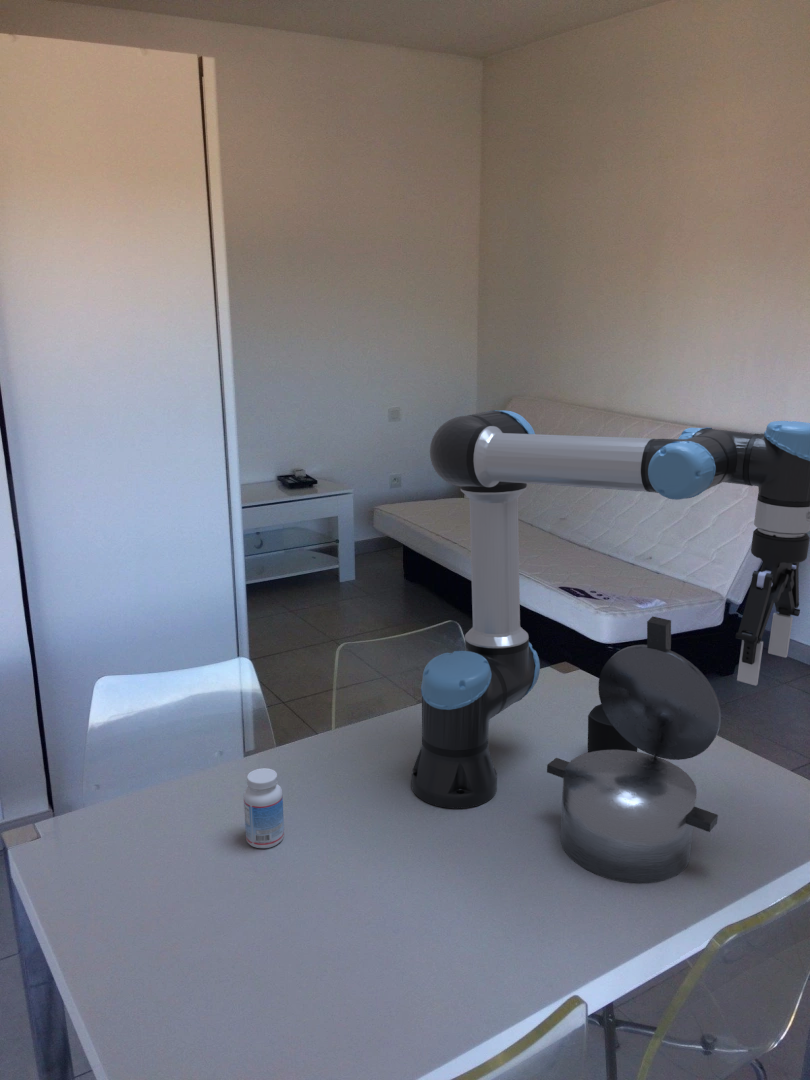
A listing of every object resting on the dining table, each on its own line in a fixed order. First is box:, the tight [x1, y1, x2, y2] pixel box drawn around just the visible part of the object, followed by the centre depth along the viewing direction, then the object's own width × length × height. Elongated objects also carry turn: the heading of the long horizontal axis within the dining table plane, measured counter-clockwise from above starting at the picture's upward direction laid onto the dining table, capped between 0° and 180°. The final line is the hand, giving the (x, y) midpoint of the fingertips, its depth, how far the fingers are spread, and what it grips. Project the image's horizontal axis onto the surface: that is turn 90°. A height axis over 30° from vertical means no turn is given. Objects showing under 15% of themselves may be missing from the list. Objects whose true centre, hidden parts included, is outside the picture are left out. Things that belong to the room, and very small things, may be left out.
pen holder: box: [587, 703, 639, 753], centre depth 162 cm, size 9×9×10 cm
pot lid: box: [597, 615, 722, 761], centre depth 140 cm, size 20×24×3 cm
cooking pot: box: [546, 750, 719, 884], centre depth 138 cm, size 27×20×11 cm
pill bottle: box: [243, 767, 285, 849], centre depth 139 cm, size 6×6×11 cm
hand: (762, 668), depth 131 cm, fingers open, 13 cm apart
